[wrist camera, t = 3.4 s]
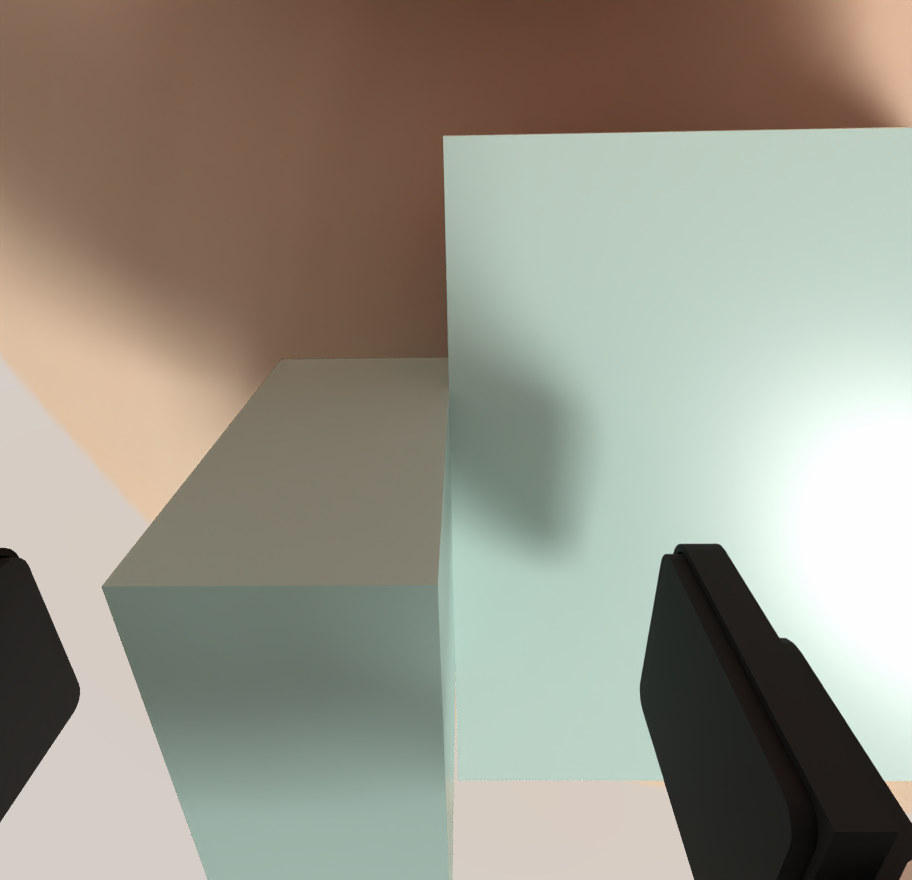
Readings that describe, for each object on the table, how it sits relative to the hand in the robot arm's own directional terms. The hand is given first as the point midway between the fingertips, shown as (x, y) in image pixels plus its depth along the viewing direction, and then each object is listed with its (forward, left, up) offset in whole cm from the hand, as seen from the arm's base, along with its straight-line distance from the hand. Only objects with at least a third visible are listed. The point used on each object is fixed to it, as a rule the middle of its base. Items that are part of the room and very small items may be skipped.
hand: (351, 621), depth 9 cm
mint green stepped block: (0, +6, -4) cm, 8 cm away
